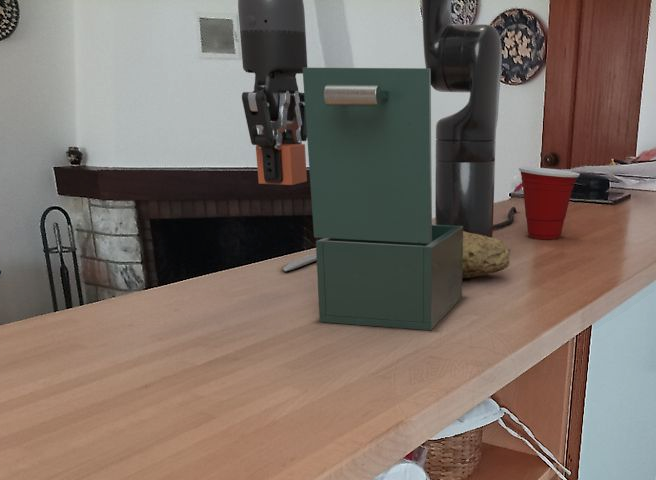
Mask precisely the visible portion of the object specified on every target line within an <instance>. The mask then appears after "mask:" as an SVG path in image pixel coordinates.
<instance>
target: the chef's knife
mask: <svg viewBox="0 0 656 480" xmlns="http://www.w3.org/2000/svg"><path fill="white" fill-rule="evenodd" d="M313 262H317V257H316V252H315V253H313V252H312V253H310V254H307V255H305V256H303V257H300V258H298V259H295V260H293V261H291V262H288V263H287V264H286V265H285V266H284V267H283V269H282V270H283V271H284V272H288V271H292V270H295V269H298V268H301V267H303V266H305V265H308V264H311V263H313Z"/></svg>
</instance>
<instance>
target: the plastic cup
mask: <svg viewBox="0 0 656 480" xmlns="http://www.w3.org/2000/svg"><path fill="white" fill-rule="evenodd" d="M518 171H519V172H520V175H521V182H522V183H521V184H522V186H521V187H522V188H523V189H522V191H523V203H524V212H525V213H524V214H525V219H526V226H527V233H528V237H529V238H532V239H539V240H557V239H560V238H561V235H562V232H563V227H564V223H565V219H566V216H567V212H568V208H569V204H570V201H571V197H572V191H573V190H574V186H575V184H576V181H577V179H578V178H579V177H580V174H581V173H579V172H575V171H569V170H562V169H555V168H547V167H546V168H545V167H537V166H536V167H535V166H533V167H532V166H520V167H518Z"/></svg>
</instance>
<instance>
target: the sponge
mask: <svg viewBox="0 0 656 480" xmlns="http://www.w3.org/2000/svg"><path fill="white" fill-rule="evenodd" d="M510 252H511V248H510V247H508V246H507V245H505V244H504V242H503V241H502V240H500V239H497V238H495V237H493V238H491V237H487V236H482V235H478V234H473V233H468V232H465V231H463V267H462V279H470V278H477V277H482V276H486V275H489V274H494V273H498V272H500V271H503V270H505V269H507V268H508V267H509V266H510V264H511V262H510V254H511V253H510Z"/></svg>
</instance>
